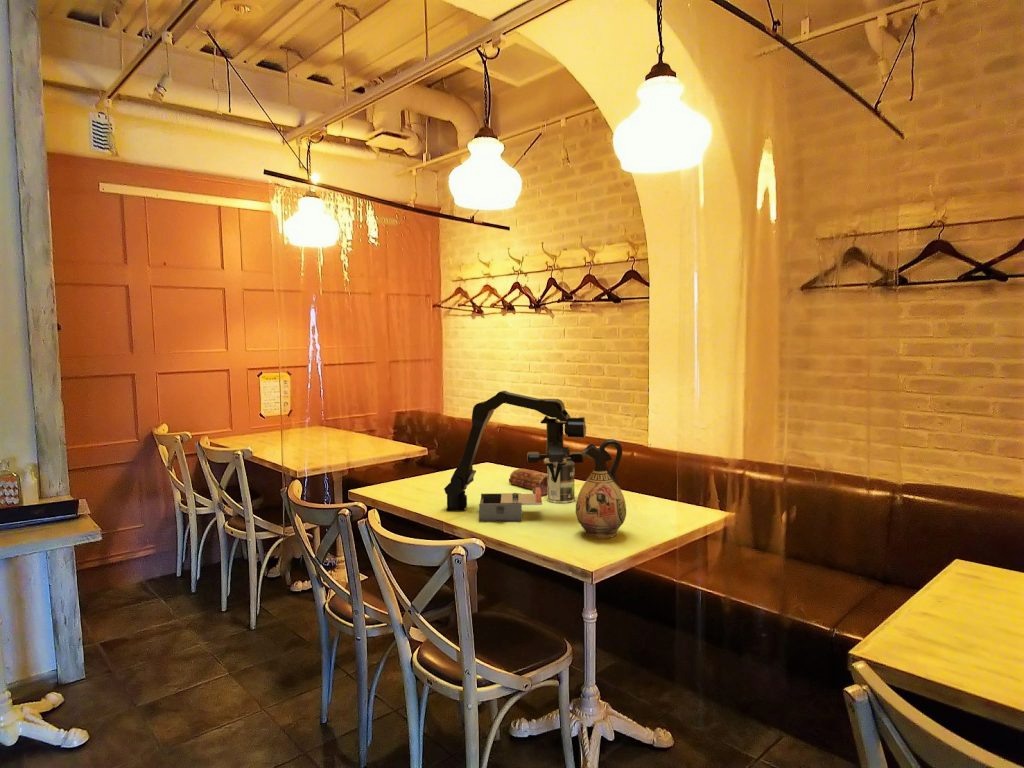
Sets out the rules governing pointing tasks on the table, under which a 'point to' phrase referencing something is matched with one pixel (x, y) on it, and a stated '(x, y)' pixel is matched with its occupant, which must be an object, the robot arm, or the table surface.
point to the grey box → (498, 509)
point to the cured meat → (530, 480)
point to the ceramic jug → (601, 494)
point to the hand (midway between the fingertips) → (554, 482)
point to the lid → (523, 498)
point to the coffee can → (562, 484)
